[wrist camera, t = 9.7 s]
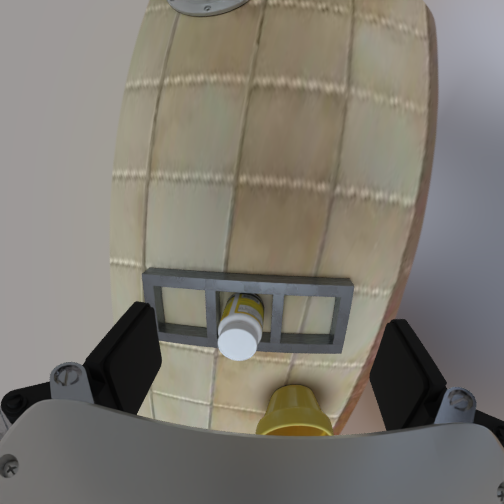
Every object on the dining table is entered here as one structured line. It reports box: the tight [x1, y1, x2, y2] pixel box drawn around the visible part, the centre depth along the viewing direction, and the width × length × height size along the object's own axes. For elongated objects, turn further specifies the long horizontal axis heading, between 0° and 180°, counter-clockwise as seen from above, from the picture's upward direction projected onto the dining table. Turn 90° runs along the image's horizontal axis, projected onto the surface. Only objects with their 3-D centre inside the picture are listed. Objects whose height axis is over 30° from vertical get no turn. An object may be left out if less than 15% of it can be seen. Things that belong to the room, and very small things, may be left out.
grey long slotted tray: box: [142, 268, 354, 354], centre depth 34 cm, size 9×25×2 cm, turn 89°
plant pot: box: [256, 385, 334, 436], centre depth 34 cm, size 10×10×10 cm
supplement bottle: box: [218, 292, 264, 361], centre depth 31 cm, size 5×5×8 cm
